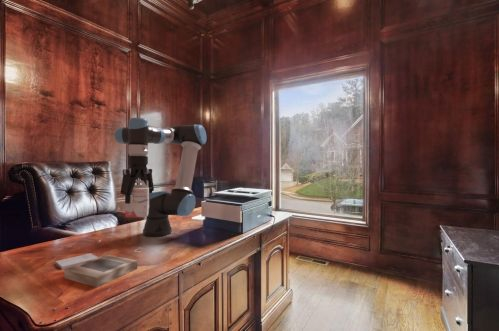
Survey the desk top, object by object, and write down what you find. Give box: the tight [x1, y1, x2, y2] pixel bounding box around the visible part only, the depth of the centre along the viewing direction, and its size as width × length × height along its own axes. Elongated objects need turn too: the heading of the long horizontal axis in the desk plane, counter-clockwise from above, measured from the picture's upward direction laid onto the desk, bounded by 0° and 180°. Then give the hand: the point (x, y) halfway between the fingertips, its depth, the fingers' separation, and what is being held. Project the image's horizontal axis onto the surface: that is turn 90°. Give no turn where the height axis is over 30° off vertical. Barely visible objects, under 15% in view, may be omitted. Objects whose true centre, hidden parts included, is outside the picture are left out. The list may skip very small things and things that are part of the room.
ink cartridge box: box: [125, 180, 149, 218], centre depth 110 cm, size 9×5×15 cm, turn 105°
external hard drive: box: [54, 252, 98, 270], centre depth 104 cm, size 2×8×12 cm
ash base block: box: [63, 254, 138, 288], centre depth 93 cm, size 16×16×3 cm
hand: (138, 209), depth 110 cm, fingers closed on ink cartridge box, 8 cm apart
